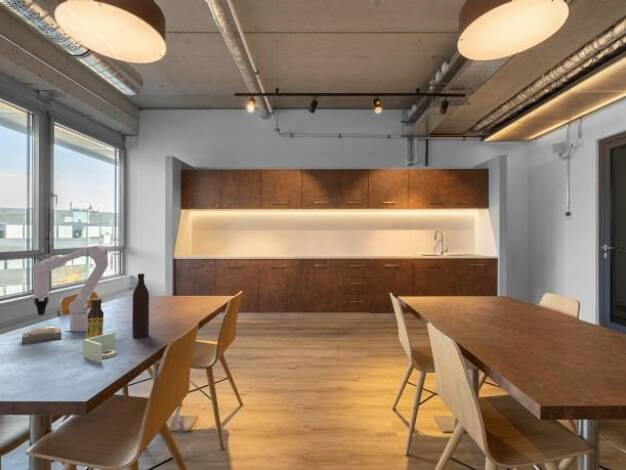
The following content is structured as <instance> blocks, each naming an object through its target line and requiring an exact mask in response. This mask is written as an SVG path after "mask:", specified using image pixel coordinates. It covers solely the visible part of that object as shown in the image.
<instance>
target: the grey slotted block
mask: <svg viewBox="0 0 626 470" xmlns="http://www.w3.org/2000/svg"><path fill="white" fill-rule="evenodd" d="M59 339H60V340H61V339H62V329H61V327H60V328H55V332H52V333H42V334H37V335H30V331H29V332H23V333H22V335H21V344H22V345H26V344H32V343H40V342H46V341H52V340H59Z"/></svg>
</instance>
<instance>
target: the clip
mask: <svg viewBox="0 0 626 470" xmlns="http://www.w3.org/2000/svg"><path fill="white" fill-rule="evenodd" d="M55 329H56V326H55V325H53V326H45V327H38V328H30V329H29V332H30V335H37V334H42V333H52V332H55Z"/></svg>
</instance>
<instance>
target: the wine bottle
mask: <svg viewBox="0 0 626 470" xmlns="http://www.w3.org/2000/svg"><path fill="white" fill-rule="evenodd" d="M137 280H138V281H137V284H136V287H135V288H134V291H133V294H132V329H131V331H132V332H131V333H132V338H134V339H142V338H146V337H148V336H149V335H150V293H149V290H148V288H147V286H146V283H145V273H138V274H137Z"/></svg>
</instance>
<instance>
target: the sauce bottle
mask: <svg viewBox="0 0 626 470" xmlns="http://www.w3.org/2000/svg"><path fill="white" fill-rule="evenodd" d="M102 301H103V300H102V298H101V297H100V298H90V303H91V306H90V307H91V308H90V310H89V311H88V312H89V313H88V319H87V331H85V332H86V335H85V337H86V338H85V339H88V338H92V337H96V336H100V335H104V315H105V314H104V312H103V310H102Z"/></svg>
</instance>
